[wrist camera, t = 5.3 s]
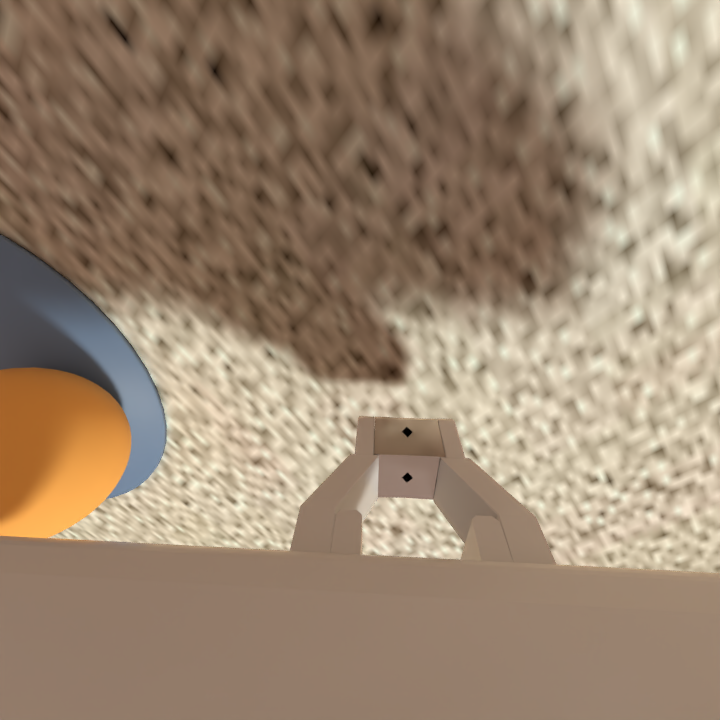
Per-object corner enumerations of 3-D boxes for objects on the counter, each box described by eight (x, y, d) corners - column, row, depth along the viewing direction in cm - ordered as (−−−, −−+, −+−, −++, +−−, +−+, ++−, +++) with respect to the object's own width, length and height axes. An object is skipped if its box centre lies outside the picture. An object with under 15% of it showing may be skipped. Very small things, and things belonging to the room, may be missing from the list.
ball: (-274, 438, 7) (-61, 454, 6) (0, 338, 12) (137, 341, 11) (-104, 583, 10) (62, 605, 9) (66, 452, 14) (181, 460, 14)
